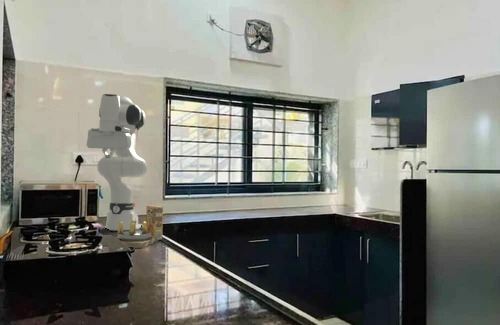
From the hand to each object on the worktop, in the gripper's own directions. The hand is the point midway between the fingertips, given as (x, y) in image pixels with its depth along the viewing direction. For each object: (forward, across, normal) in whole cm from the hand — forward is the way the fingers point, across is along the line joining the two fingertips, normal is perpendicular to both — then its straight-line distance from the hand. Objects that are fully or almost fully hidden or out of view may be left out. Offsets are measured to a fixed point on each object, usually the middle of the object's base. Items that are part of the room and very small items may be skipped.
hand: (108, 158), depth 178 cm
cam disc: (+35, +16, -6) cm, 39 cm away
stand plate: (+37, +15, -6) cm, 41 cm away
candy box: (+37, +20, +8) cm, 43 cm away
